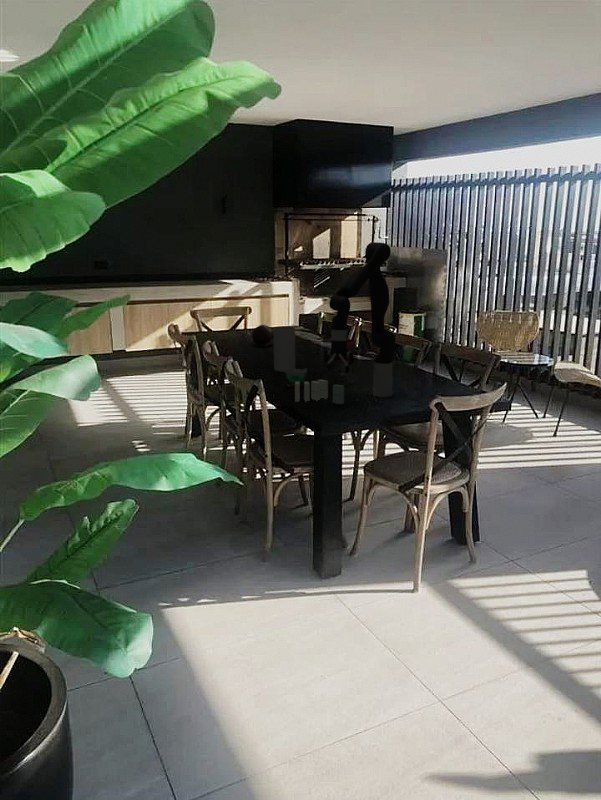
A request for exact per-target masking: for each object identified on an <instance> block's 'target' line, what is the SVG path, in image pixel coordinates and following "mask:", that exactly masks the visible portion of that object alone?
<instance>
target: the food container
mask: <svg viewBox="0 0 601 800" xmlns="http://www.w3.org/2000/svg"><path fill="white" fill-rule="evenodd" d="M283 373H285V379H286V387H287V386H288V387H287V388H289V387H291V388H290V389H295V382H296V381H298V382H300V387H303V386H304V382H306V375H307V373H308V369H307V367H305V368H295V369H292V370H288V369H285V371H284V372H283ZM303 388H304V387H303Z"/></svg>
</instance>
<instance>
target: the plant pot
mask: <svg viewBox="0 0 601 800" xmlns="http://www.w3.org/2000/svg"><path fill="white" fill-rule="evenodd" d="M354 348H356V340H355V339H351V338H347V352H353V353H354ZM346 357H347V359H348V361H349V356H348V354H347V356H346ZM336 361H337V362H339V363H344V362H343V361H342V360H336Z"/></svg>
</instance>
